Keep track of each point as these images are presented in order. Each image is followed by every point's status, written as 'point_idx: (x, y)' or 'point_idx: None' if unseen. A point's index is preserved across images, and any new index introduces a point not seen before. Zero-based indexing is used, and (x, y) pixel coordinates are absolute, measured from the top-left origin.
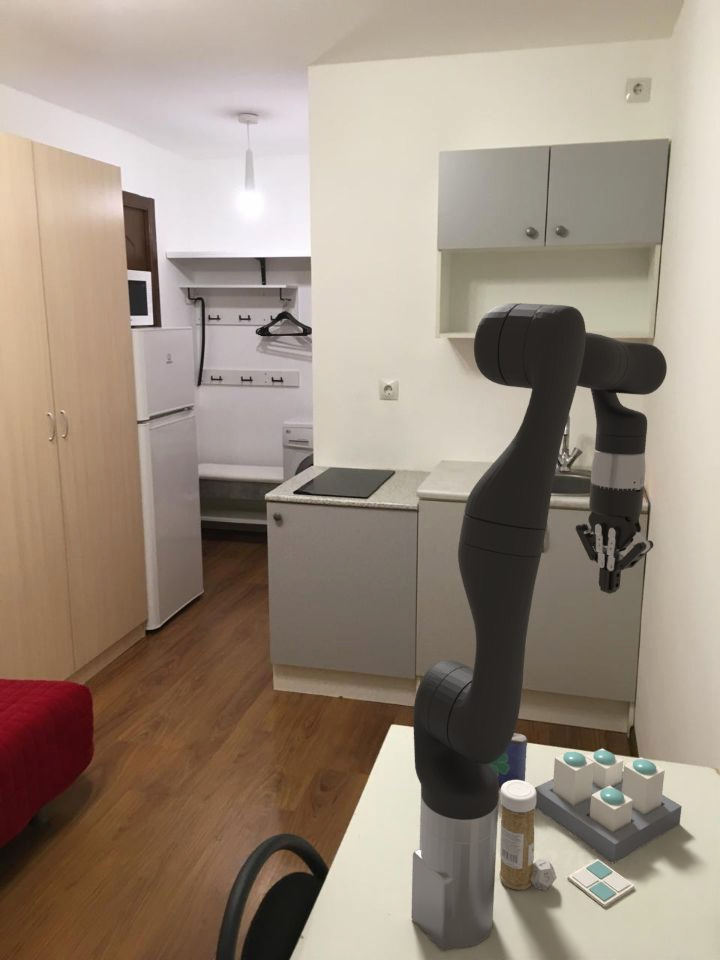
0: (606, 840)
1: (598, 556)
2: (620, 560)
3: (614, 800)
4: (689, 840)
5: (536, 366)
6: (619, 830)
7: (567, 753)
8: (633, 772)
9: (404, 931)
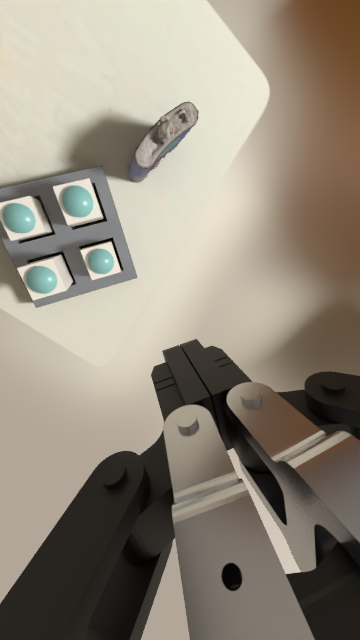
0: None
1: (301, 417)
2: (118, 522)
3: (5, 213)
4: (15, 295)
5: None
6: None
7: (90, 198)
8: (38, 262)
9: None
